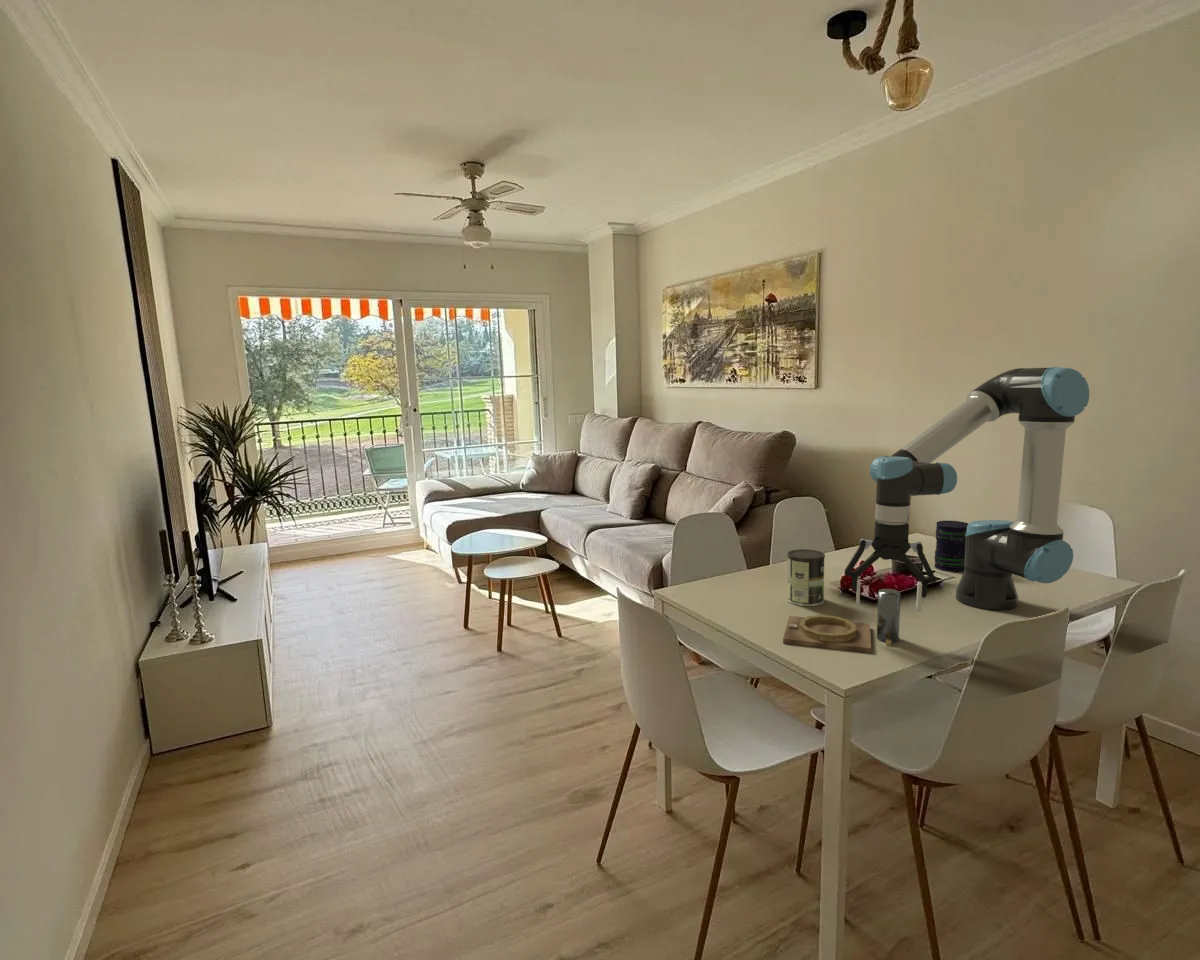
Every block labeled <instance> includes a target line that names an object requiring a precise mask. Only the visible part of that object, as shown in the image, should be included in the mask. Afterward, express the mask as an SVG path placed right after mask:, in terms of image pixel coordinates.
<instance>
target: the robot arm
mask: <svg viewBox="0 0 1200 960" xmlns="http://www.w3.org/2000/svg"><path fill="white" fill-rule="evenodd" d="M1089 400H1090V387H1089V383H1088V382H1087V379H1086V378H1085V377H1084V376H1083V374H1082V372H1080V371H1078V370H1076V369H1074V368H1071V367H1058V366H1053V367H1051V366H1050V367H1032V368H1031V367H1029V368H1027V367H1025V368H1024V367H1022V368H1021V367H1020V368H1019V367H1018V368H1014V369H1010V370H1007V371H1003V372H1001V373H999V374H997V375H995V376H993V377H992V378H990V379H988V380H987V381H985V382H983V383H981V384H980V385H978V386H977V387H976V388H974V389H973V390H972V391H970V392H969V393H968V394H967V396H966V399H965V401H963V402H962V403H961V404H959V405H958V406H957V407H956V408H954V409H953V410H951V411H949V413H947V414H946V415H944V416H943V417H941V418H940V419H939V420H938V421H936V422H935V423H934V424H932V425H930V426H929V427H928V428H926V429H925V430H924V431H922V433H920V434H919V435H918V436H916V437H915V438H913V439H912V440H911V441H909V442H908V443H906V444H905V445H904V446H902V447H901V448H900V449H899V450H897V451H896V452H894V453H893V454H891V455H890V456H889V455H884V456H883V455H882V456H878V457H876V458H874V460H873V461H872V462H871V463H870V465H869V474H870V477H871V479H872V480H873V481H874V482H875V483H876V491H875V492H876V496H875V513H874V514H875V515H874V516H875V517H874V518H875V522H874V533H873V535H874V536H873V539H872V540H869V539H866V538H864V537H862V538H860V540H859V545H858V546H859V547H858V548H857V549H856V551H855V552H854V554H853V556H852V557H851V559H850V561H849V562H848V564H847V566H846V567H845V569H844V576H847V577H850V578H851V590H852V592H853V591H854V592H855V593H856V596H855V606H860V603H861V601H860V599H861V597H860V596H861V594H860V593H861V575H862V574H863V573H864V572H865V571H866V570H868V568H870V567H871V566H872V565H873V564H874V563H875V562H877V560H879V559H882V560H884V561H887V560H892V561H899V560H902V562H903V563H904V564H905V565H906V566H907V567H908V569H909V570H910V571H911V573H913V574H914V576H916V579H918V580H919V581H917V585H916V587H917V588H916V603H915V606H916V607H915V609H916V611H917V612H921V610H922V598H927V597H928V596H927V595H928V594H927V593H928V585H929V584H935V583H937V578H936V576H935V574H934V572H933V570H932V568H931V565H930V564H929V562H928V560H927V558H926V556H925V554H924V546H923V543H922V542H921V541H916V542H912V543H910V542H909V534H910V533H909V532H910V530H909V529H910V524H909V521H910V514H911V513H910V512H911V502H912V501H911V499H912V497H915V496H927V495H928V496H933V495H937V496H939V495H943V494H950V493H951V492H953V490H955V488H956V486H957V485H958V484H957V483H958V474H957V471H956V469H955V468H954V467H953V465H951V464H950V463H946V462H934V461H936V460H937V459H938V458H939V457H940V456H942V455H944V454H945V453H947V452H948V451H949V450H951V449H952V448H953V447H955V446H956V445H957V444H959V443H960V442H961V441H963V440H964V439H965V438H967V437H968V436H969V435H971V434H972V433H974V431H976V430H977V429H979V428H980V427H981V426H983V425H984V424H985V423H991V422H994V421H996V420H998V419H999V418H1000V417H1002V416H1006V415H1009V414H1018V423H1019V424H1020V425H1021V426H1022V427H1023V428H1024V433H1023V435H1024V436H1023V445H1022V446H1023V448H1022V459H1021V470H1020V482H1019V494H1018V505H1017V515H1016V516H1017V517H1016V520H1015V521H1012V520H1003V519H985V520H983V519H982V520H974V521H971V522H968V526H967V531H966V535H965V563H964V572H962V573H963V574H962V576H961V578H960V580H959V582H958V584H957V587H956V590H955V599H956V600H957V601H958V602H961V603H963V604H964V605H966V606H970V607H974V608H980V609H985V610H998V611H1000V610H1001V611H1002V610H1003V611H1004V610H1011V609H1015V608H1017V607H1018V604H1019V596H1018V593H1017V588H1016V586H1015V583H1014V579H1013V575H1014V576H1017V577H1021V578H1024V579H1026V580H1028V581H1031V582H1037V583H1041V584H1051V583H1055V582H1057V581H1059V580H1061V578H1063V576H1064V575H1066V574H1067V573H1068V571H1069V570H1070V568H1071V566H1072V563H1073V559H1074V551H1073V548H1072V546H1071V545H1070V544H1069V543H1068V542H1066V541H1065V540H1064V532H1065V531H1064V529H1062V527H1060V525H1059V524H1058V517H1059V507H1060V506H1059V505H1060V495H1061V485H1062V475H1063V465H1064V455H1065V454H1064V453H1065V444H1066V433H1067V429H1068V428H1070V427H1071V426H1072V425H1074V423H1075V420H1076V416H1079V414H1081V413H1083V412H1084V410H1085V408H1086V407H1087V406H1088V405H1089V402H1090V401H1089ZM933 462H934V463H933ZM871 546H872V548H873V549H874V551H873V552H872V554H870V555H869V556H868V557H867V558H866V560H864V561H863V562H862V563H861V564H860V565H859V566H858V567H857V568H856V569H855V570H854V568H855V566H856V565H857V563H858V561H859V560H860V558H861V557H862V555H863V554H864V551H865V550H868V548H869V547H871ZM911 549H912V551H913V552H914V553H917V556H918V557H919V558H918V559H919V560H920V562H921V564H922V567H923V568H924V570H925V573H926V574H927V576H925V575H924V574H923V573H922V571H921V570H920V569H919V568H918V567H917V566H916V564H915V563H914V562H913V561H912V560H911V558H910V557H909V556H908V554H907V552H908V551H910V550H911Z"/></svg>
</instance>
